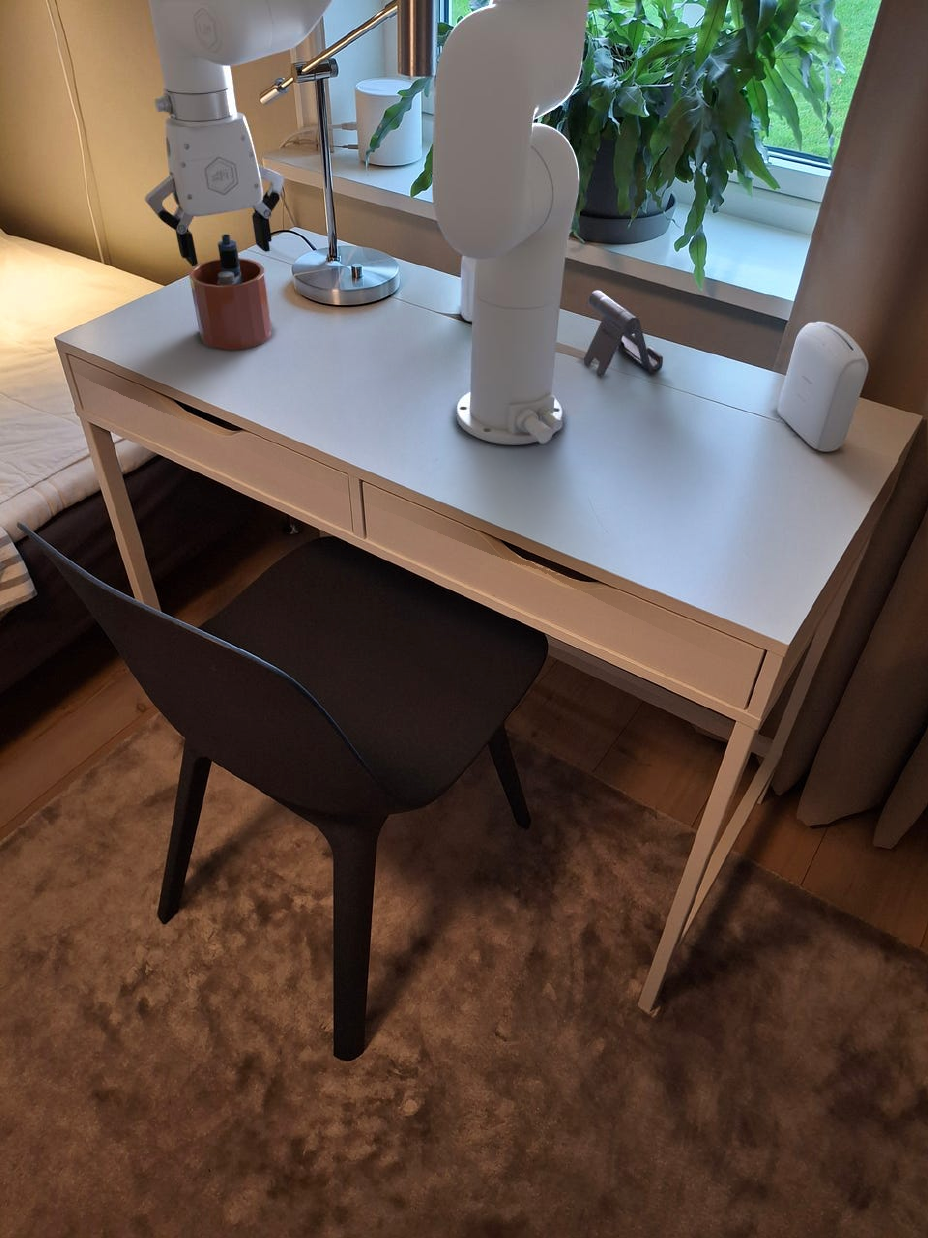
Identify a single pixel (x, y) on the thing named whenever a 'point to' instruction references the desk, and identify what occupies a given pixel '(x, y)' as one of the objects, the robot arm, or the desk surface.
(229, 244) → the vaping device
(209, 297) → the pen cup
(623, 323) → the tablet stand
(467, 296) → the eye dropper bottle
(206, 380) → the desk surface
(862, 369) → the photo printer
